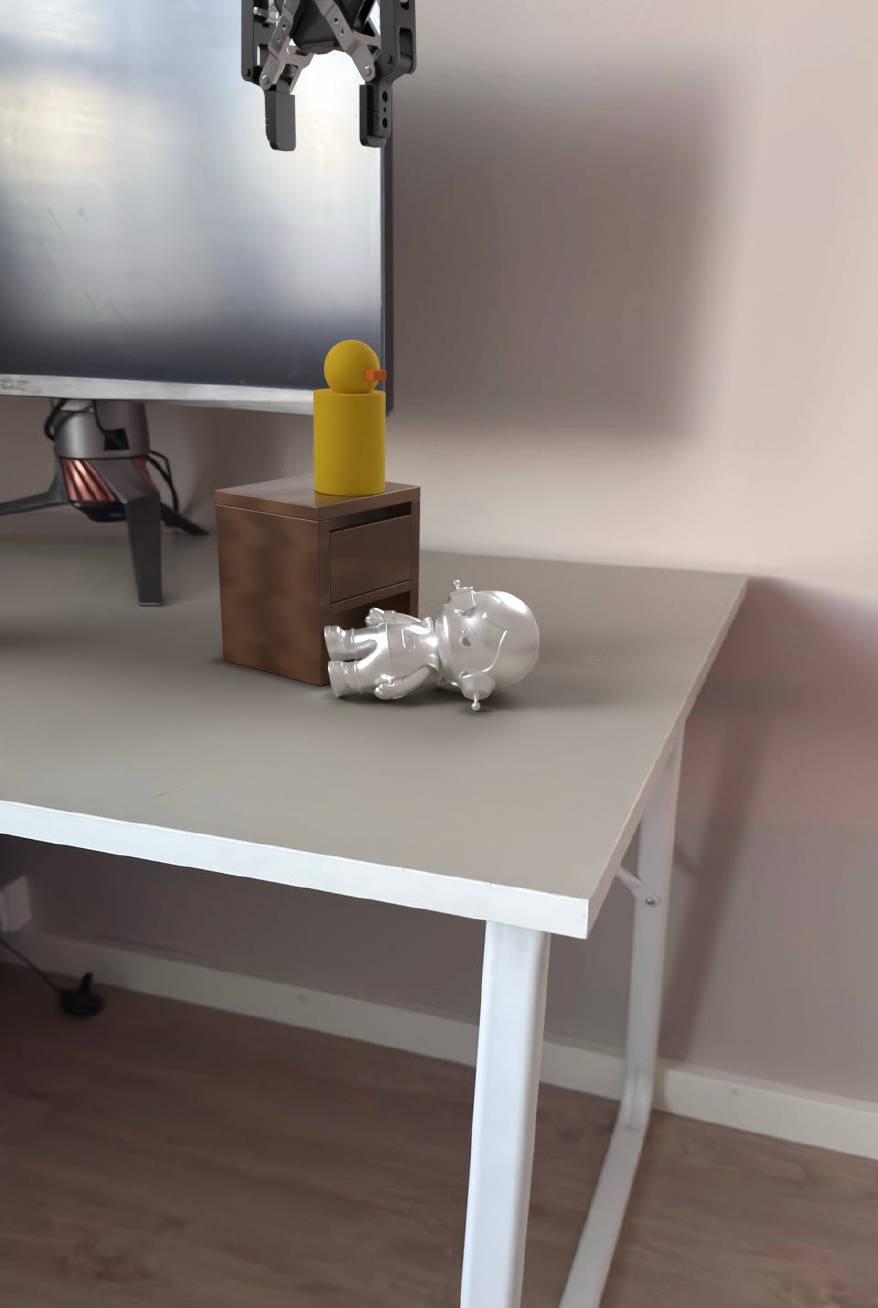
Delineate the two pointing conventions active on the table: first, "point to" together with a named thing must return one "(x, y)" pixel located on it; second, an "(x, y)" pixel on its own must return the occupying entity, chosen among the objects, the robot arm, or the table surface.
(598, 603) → the table surface
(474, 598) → the figurine
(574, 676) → the table surface
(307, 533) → the wooden box
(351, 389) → the duck
